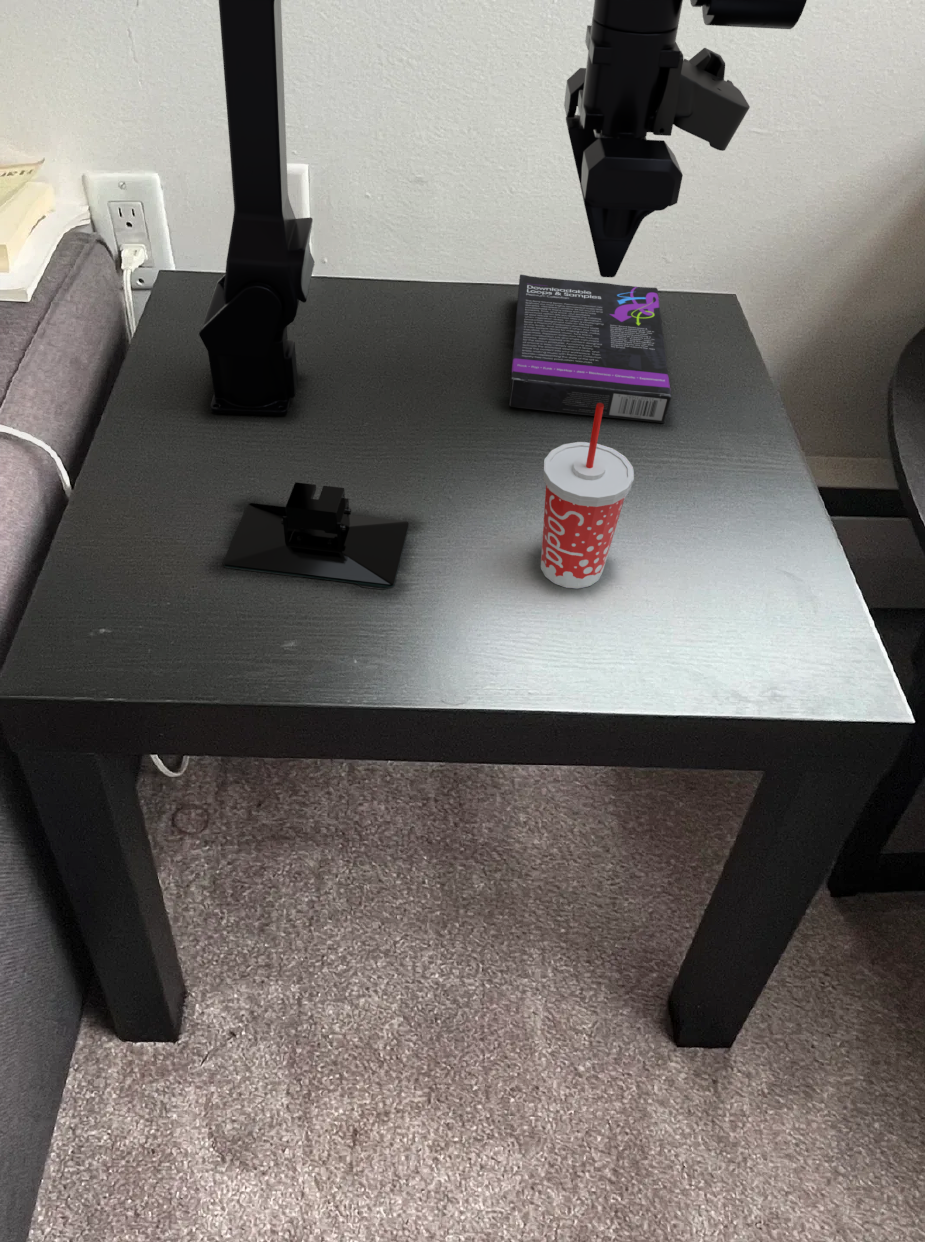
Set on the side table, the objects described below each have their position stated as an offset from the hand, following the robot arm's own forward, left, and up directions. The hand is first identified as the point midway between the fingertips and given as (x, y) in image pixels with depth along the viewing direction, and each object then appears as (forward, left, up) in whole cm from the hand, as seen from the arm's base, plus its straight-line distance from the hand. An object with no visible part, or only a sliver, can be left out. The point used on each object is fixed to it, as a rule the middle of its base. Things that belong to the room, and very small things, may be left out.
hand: (601, 248), depth 76 cm
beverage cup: (-2, -21, -15) cm, 26 cm away
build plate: (-21, -19, -15) cm, 32 cm away
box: (+2, +8, -15) cm, 17 cm away
